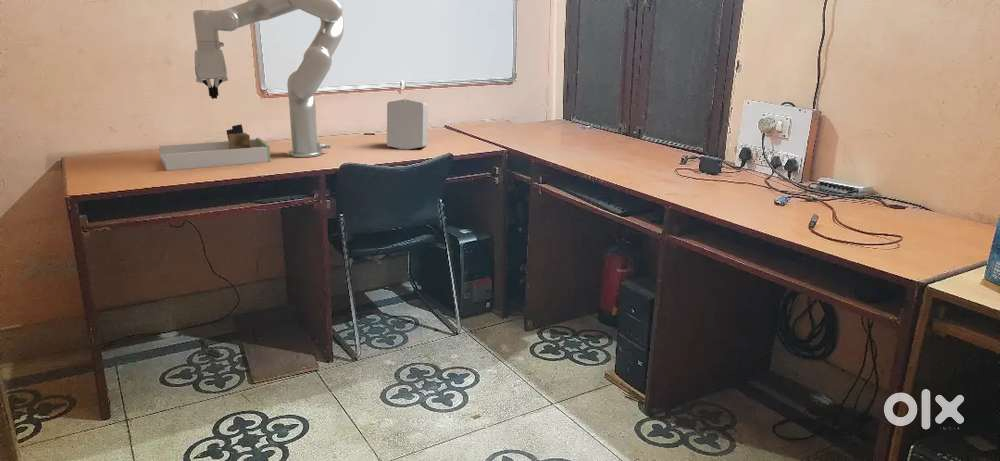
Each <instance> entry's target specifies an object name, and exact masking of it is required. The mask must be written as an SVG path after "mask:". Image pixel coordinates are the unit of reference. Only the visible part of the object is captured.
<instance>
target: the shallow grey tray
mask: <svg viewBox="0 0 1000 461" xmlns="http://www.w3.org/2000/svg"><path fill="white" fill-rule="evenodd" d="M158 147H159V155H160V162H161V163H162V165H163V167H164V169H165V170H166V171H176V170H177V171H179V170H189V169H200V168H201V169H202V168H212V167H213V168H214V167H224V166H236V165H248V164H250V165H251V164H259V163H260V164H261V163H271V153H270V152H271V149H270V145H269V144H268V143H266V142H265V141H264V140H262V139H261V138H260V137H255V138H254V139H253V138H251V139H250V148H242V149H230V145H229V141H228V140H227V141H226V140H225V141H213V142H212V141H210V142H198V143H197V142H196V143H195V142H194V143H183V144H166V145H158Z"/></svg>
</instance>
